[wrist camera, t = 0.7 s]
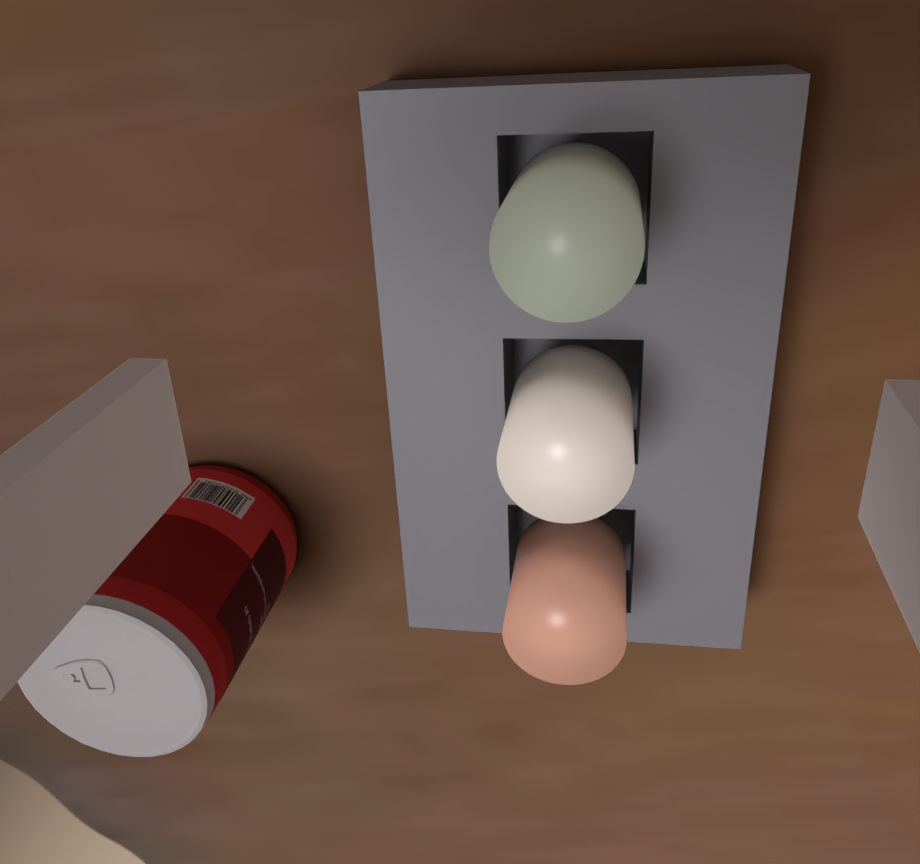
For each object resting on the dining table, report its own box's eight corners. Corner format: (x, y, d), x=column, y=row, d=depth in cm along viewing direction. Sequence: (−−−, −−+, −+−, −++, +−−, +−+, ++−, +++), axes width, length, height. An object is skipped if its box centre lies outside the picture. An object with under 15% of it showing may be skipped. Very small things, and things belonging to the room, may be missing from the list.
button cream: (511, 344, 31) (494, 401, 27) (634, 345, 31) (637, 404, 26) (514, 451, 33) (498, 520, 29) (630, 454, 33) (632, 526, 28)
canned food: (119, 482, 42) (-30, 628, 32) (258, 439, 40) (141, 583, 30) (195, 605, 45) (78, 773, 35) (328, 572, 42) (243, 743, 33)
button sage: (506, 143, 28) (486, 171, 24) (643, 140, 28) (648, 167, 23) (510, 274, 30) (491, 322, 26) (637, 274, 30) (641, 323, 25)
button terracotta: (515, 508, 35) (500, 583, 30) (627, 513, 34) (628, 591, 29) (517, 597, 36) (504, 680, 32) (623, 604, 36) (624, 689, 31)
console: (387, 80, 32) (358, 91, 28) (787, 64, 29) (810, 73, 26) (427, 573, 41) (409, 626, 38) (729, 590, 39) (740, 649, 36)
